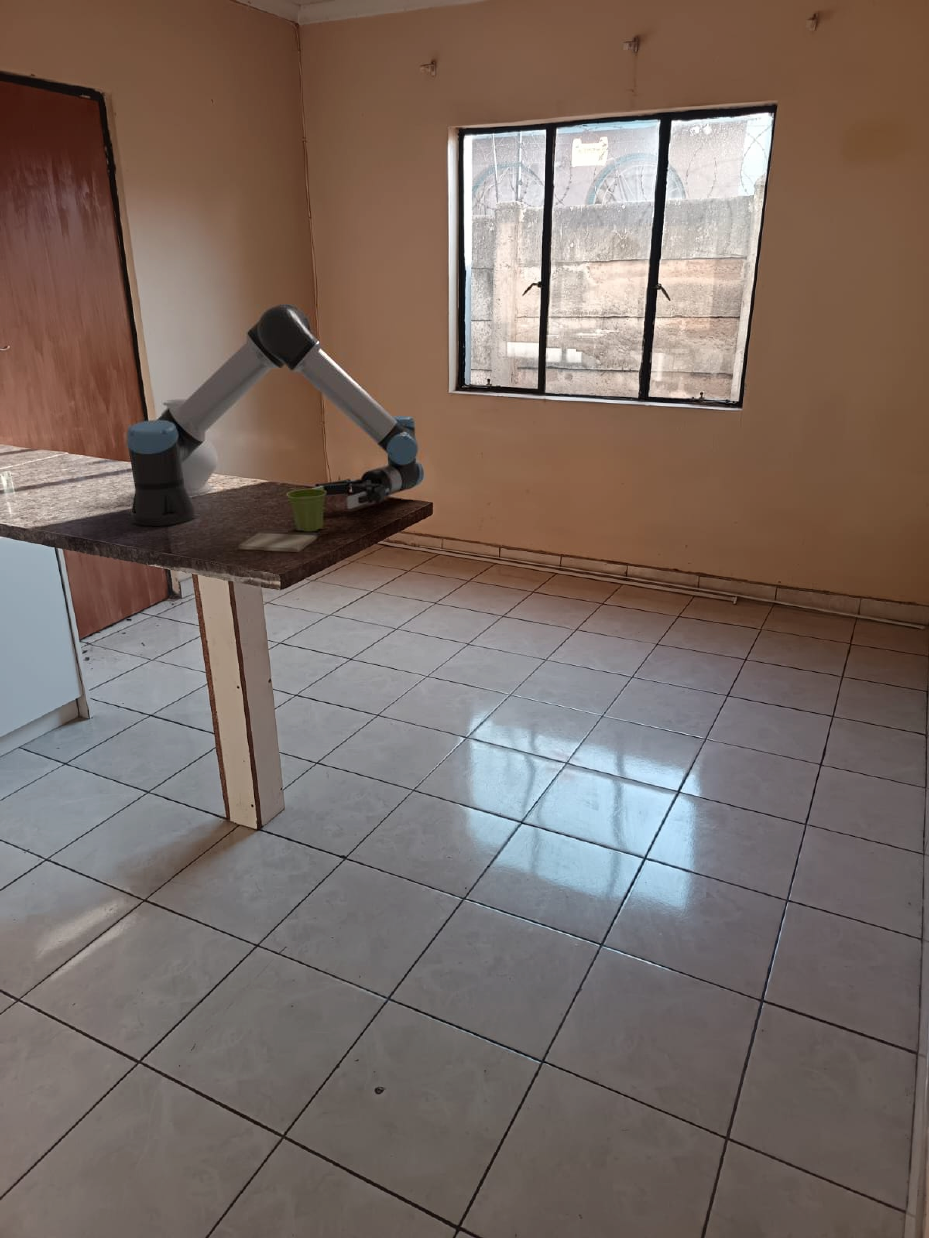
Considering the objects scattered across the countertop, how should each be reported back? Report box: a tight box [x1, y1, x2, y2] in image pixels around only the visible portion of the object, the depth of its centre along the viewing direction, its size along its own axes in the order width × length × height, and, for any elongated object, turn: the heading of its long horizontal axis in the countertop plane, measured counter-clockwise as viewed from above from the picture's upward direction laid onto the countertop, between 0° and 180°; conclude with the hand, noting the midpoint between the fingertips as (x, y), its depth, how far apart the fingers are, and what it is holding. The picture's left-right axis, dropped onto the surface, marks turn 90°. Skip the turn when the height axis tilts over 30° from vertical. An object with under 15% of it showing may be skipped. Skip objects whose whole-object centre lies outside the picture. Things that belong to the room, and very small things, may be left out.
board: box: [238, 530, 320, 553], centre depth 194 cm, size 14×12×1 cm
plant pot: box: [285, 488, 327, 533], centre depth 204 cm, size 9×9×9 cm
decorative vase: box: [161, 398, 219, 497], centre depth 242 cm, size 18×18×25 cm
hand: (326, 499), depth 208 cm, fingers open, 13 cm apart
